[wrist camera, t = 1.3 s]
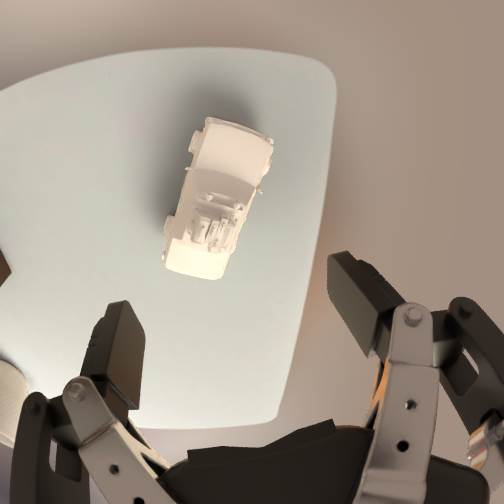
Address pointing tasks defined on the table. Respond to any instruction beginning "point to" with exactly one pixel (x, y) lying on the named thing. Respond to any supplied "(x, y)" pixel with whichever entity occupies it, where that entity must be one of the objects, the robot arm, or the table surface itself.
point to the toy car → (215, 197)
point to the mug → (10, 401)
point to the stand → (3, 269)
